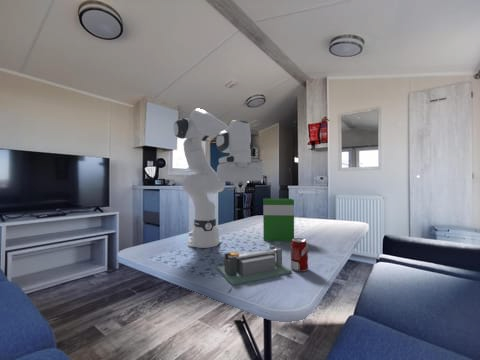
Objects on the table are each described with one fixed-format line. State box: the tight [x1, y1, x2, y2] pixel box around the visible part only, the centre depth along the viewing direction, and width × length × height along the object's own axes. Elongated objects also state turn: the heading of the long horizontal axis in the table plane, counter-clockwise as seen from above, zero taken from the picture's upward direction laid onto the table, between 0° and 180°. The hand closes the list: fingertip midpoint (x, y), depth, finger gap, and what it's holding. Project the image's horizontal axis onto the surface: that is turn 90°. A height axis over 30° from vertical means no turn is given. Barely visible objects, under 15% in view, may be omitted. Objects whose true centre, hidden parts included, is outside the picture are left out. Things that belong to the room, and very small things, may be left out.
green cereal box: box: [262, 198, 295, 242], centre depth 143 cm, size 18×7×24 cm, turn 83°
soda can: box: [290, 237, 309, 273], centre depth 97 cm, size 7×7×12 cm
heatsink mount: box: [216, 245, 293, 286], centre depth 96 cm, size 16×25×8 cm, turn 115°
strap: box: [228, 247, 277, 259], centre depth 96 cm, size 3×22×2 cm, turn 115°
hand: (240, 192), depth 100 cm, fingers closed
